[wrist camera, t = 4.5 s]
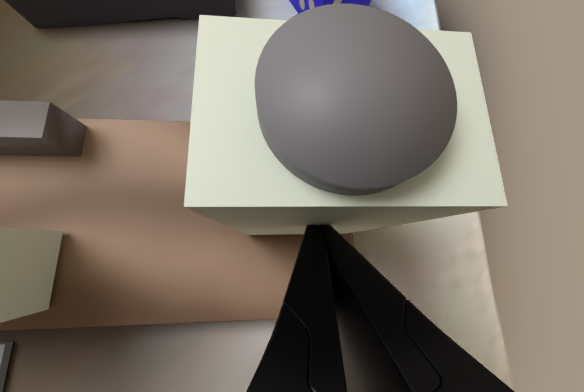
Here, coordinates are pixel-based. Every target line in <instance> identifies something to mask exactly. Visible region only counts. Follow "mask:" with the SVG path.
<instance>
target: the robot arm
mask: <svg viewBox="0 0 584 392" xmlns="http://www.w3.org/2000/svg"><path fill="white" fill-rule="evenodd" d="M247 392H514V391H513V390H512V389H511V388H509V387H508V386H507V385H506V384H505V383H503V382H502V381H501V380H500V379H499V378H497V377H496V376H495V375H494V374H493V373H491V372H490V371H489V370H488V369H487V368H485V367H484V366H483V365H482V364H480V363H479V362H478V361H477V360H476V359H474V358H473V357H472V356H471V355H470V354H468V353H467V352H466V351H465V350H464V349H462V348H461V347H460V346H459V345H458V344H457V343H455V342H454V341H453V340H452V339H451V338H450V337H448V336H447V335H446V334H445V333H444V332H443V331H441V330H440V329H439V328H438V327H437V326H436V325H435V324H434V323H432V322H431V321H430V320H429V319H428V318H427V317H426V316H425V315H424V314H423V313H422V312H421V311H420V310H418V309H417V308H416V307H415V306H414V305H413V304H412V303H411V302H410V301H409V300H406V297H405V296H404V295H403V294H402V293H401V292H400V291H399V290H398V289H397V288H395V287H394V286H393V285H392V284H391V283H390V282H389V281H388V280H387V279H386V278H385V277H384V276H383V275H382V274H381V273H380V272H379V271H378V270H377V269H376V268H375V267H374V266H373V265H372V264H371V263H370V262H369V261H367V260H366V259H365V258H364V257H363V256H362V255H361V254H360V253H359V252H358V251H357V250H356V249H355V248H354V247H353V246H352V245H351V244H350V243H349V242H348V241H347V240H346V239H345V238H344V237H343V236H342V235H340V234H339V233H338V232H337V231H336V230H335V229H334V228H333V227H332V226H331V225H319V226H318V225H307V226H306V229H305V232H304V235H303V238H302V242H301V245H300V248H299V251H298V255H297V258H296V261H295V264H294V267H293V271H292V274H291V277H290V280H289V284H288V287H287V290H286V293H285V296H284V300H283V305H282V306H281V309H280V312H279V315H278V318H277V321H276V324H275V327H274V330H273V333H272V336H271V338H270V340H269V343H268V345H267V347H266V350H265V352H264V354H263V357H262V359H261V361H260V363H259V366H258V368H257V370H256V372H255V374H254V376H253V379H252V381H251V383H250V385H249V387H248V389H247Z"/></svg>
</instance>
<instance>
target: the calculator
mask: <svg viewBox="0 0 584 392" xmlns="http://www.w3.org/2000/svg"><path fill="white" fill-rule="evenodd" d="M4 1H5V2H7V3H8V4H9V5H10V6H11V7H12V8H13V9H15V10H16V11H17V12H18V13H19V14H20V15H21V16H23V17H24V18H25V19H26V20H27V21H28V22H29V23H31V24H32V25H33V26H34V27H36V28H47V27H65V26H82V25H98V24H111V23H121V22H130V21H140V20H150V19H159V18H170V17H178V18H180V19H183V20H190V19H199V15H210V16H225V17H233V16H235V14H236V10H235V2H234V0H4Z"/></svg>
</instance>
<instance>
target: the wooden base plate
mask: <svg viewBox="0 0 584 392" xmlns="http://www.w3.org/2000/svg"><path fill="white" fill-rule="evenodd" d="M190 124H191V122H182V121H146V120H110V119H75V118H73V117H72V116H70V115H69V114H67V113H66V112H64V111H63V110H61V109H60V108H58V107H57V106H55V105H53V104H52V103H50V102H32V101H2V100H0V227H12V228H26V229H39V230H53V231H63V234H62V239H61V244H60V250H59V255H58V261H57V266H56V271H55V277H54V282H53V287H52V293H51V298H50V303H49V309H48V310H44V311H41V312H37V313H34V314H30V315H27V316H23V317H20V318H16V319H12V320H9V321H5V322H2V323H0V331H6V330H29V329H53V328H76V327H100V326H123V325H147V324H170V323H194V322H217V321H241V320H264V319H277V318H278V315H279V312H280V309H281V306H282V305H283V300H284V296H285V293H286V290H287V287H288V284H289V280H290V277H291V274H292V271H293V267H294V264H295V261H296V258H297V255H298V251H299V248H300V245H301V242H302V238H303V235H304V234H285V235H245V234H243V233H241V232H239V231H236V230H234V229H232V228H230V227H228V226H225V225H223V224H221V223H219V222H216V221H214V220H212V219H210V218H208V217H205V216H203V215H201V214H199V213H196V212H194V211H192V210H190V209H188V208H185V207H184V197H185V185H186V173H187V161H188V148H189V136H190ZM340 235H342V236H343V237H344V238H345V239H346V240H347V241H348V242H349V243H350V244H351V245H352V246H353V247H354V245H353V233H348V234H340Z"/></svg>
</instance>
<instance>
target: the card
mask: <svg viewBox="0 0 584 392" xmlns="http://www.w3.org/2000/svg"><path fill="white" fill-rule="evenodd" d="M12 344H13V341H12V342H0V392H3V387H4V382H5V377H6V373H7V368H8V363H9V358H10V354H11V349H12Z"/></svg>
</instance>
